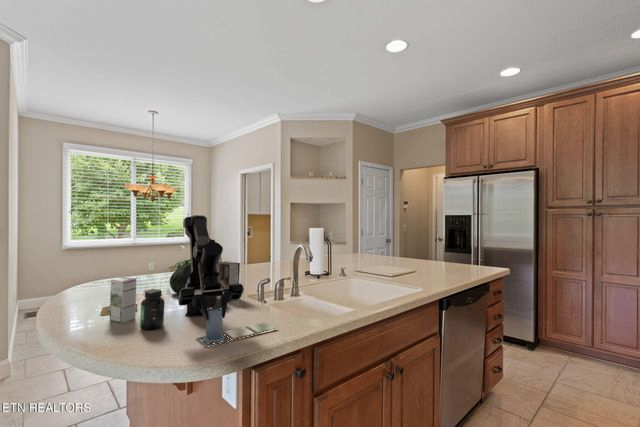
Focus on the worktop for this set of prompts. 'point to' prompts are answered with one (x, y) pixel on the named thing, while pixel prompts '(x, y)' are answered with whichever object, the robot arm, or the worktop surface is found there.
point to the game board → (243, 332)
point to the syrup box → (123, 299)
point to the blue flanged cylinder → (214, 326)
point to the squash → (180, 278)
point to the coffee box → (228, 273)
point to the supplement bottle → (152, 311)
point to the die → (217, 302)
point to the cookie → (108, 311)
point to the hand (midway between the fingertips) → (215, 318)
